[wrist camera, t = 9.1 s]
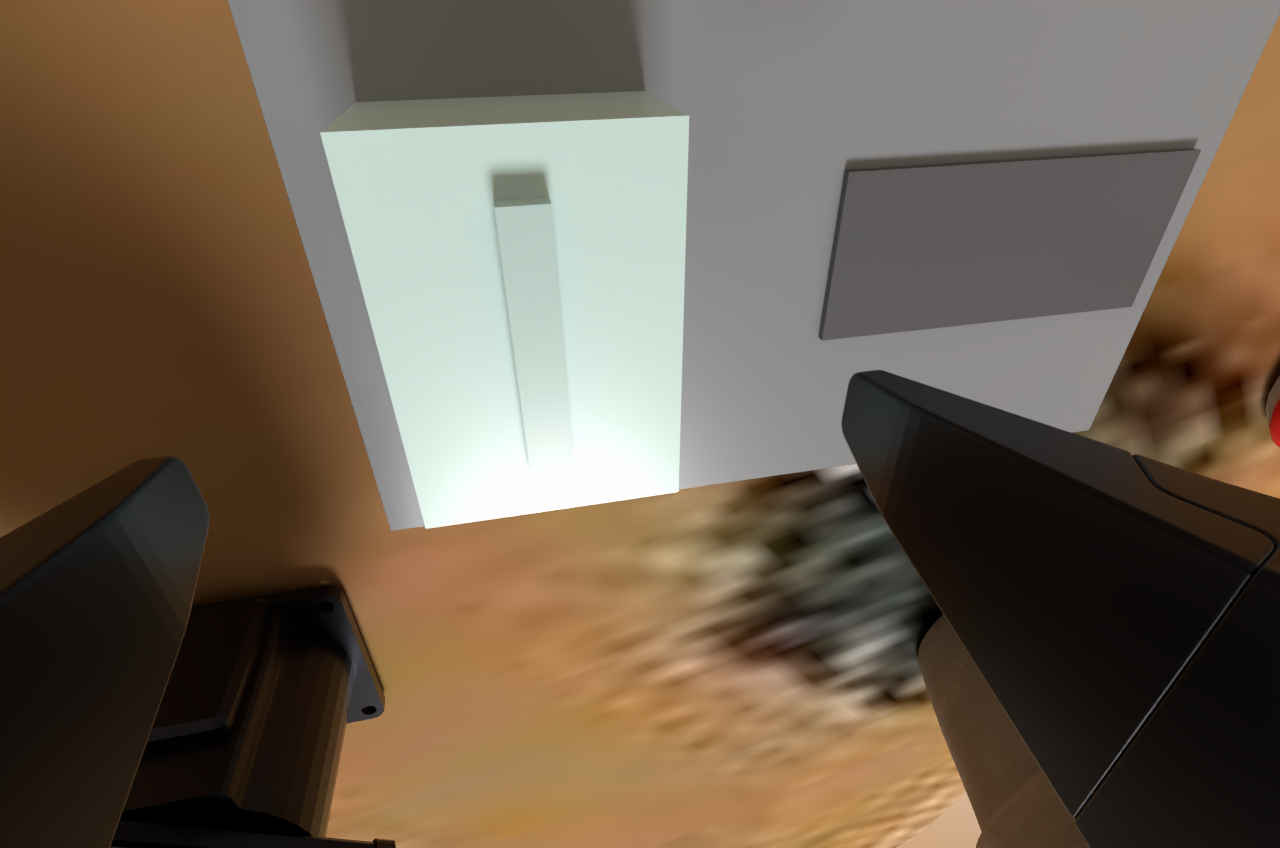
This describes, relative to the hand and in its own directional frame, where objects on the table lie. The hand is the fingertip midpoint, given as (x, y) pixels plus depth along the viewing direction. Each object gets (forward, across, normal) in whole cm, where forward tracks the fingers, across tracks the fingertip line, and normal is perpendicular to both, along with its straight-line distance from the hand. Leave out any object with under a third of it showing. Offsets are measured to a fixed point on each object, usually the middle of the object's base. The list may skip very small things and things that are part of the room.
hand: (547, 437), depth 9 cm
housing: (+8, -6, 0) cm, 10 cm away
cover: (+5, 0, 0) cm, 5 cm away
